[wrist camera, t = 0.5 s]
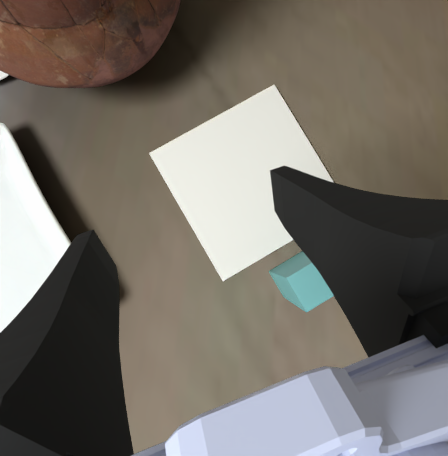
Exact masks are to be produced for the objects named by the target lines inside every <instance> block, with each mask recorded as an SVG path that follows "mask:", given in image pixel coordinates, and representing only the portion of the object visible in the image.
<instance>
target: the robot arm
mask: <svg viewBox="0 0 448 456" xmlns="http://www.w3.org/2000/svg"><path fill="white" fill-rule="evenodd" d="M270 176H271V184H272V193H273V202H274V210H275V212H276V214H277V216H278V218H279V219H280V221H281V223H282V225H283V226H284V228H285V229H286V231H287V232H288V233H289V235H290V236H291V237H292V238H293V240H294V241H295V242H296V243H297V245H298V246H299V247H300V248H301V250H302V251H303V252H304V253H305V255H306V256H307V257H308V258H309V260H310V261H311V262H312V263H313V265H314V266H315V267H316V269H317V270H318V271H319V273H320V274H321V276H322V277H323V279H324V281H325V282H326V284H327V285H328V287H329V288H330V290H331V292H332V293H333V295H334V297H335V298H336V300H337V302H338V303H339V305H340V307H341V308H342V310H343V312H344V313H345V315H346V317H347V319H348V320H349V322H350V324H351V326H352V328H353V329H354V331H355V333H356V335H357V336H358V338H359V340H360V342H361V344H362V346H363V348H364V350H365V352H366V353H367V355H368V357H369V358H366V359H364V360H361V361H359V362H356V363H354V364H352V365H349V366H347V367H344V368H338V367H327V366H324V367H320V368H316V369H313V370H309V371H306V372H303V373H300V374H298V375H295V376H293V377H290V378H288V379H286V380H283V381H281V382H278V383H276V384H273V385H271V386H268V387H266V388H264V389H261V390H259V391H256V392H254V393H251V394H249V395H246V396H244V397H241V398H239V399H237V400H234V401H232V402H229V403H227V404H224V405H222V406H219V407H217V408H215V409H212V410H210V411H207V412H205V413H202V414H200V415H198V416H196V417H195V418H193V419H191V420H189V421H187V422H185V423H184V424H182V425H180V426H179V427H178V428H177V429H176V430H175V432H174V433H173V434H172V435H171V436H170V437H169V438H168V440H167V441H165V442H162V443H160V444H158V445H155V446H153V447H150V448H148V449H146V450H143V451H141V452H138V453H136V454H134V453H133V447H132V442H131V436H130V431H129V424H128V418H127V411H126V404H125V397H124V389H123V381H122V373H121V363H120V354H119V281H118V274H117V267H116V265H115V263H114V262H113V260H112V258H111V257H110V255H109V254H108V252H107V250H106V249H105V247H104V246H103V244H102V243H101V241H100V239H99V238H98V236H97V235H96V233H95V232H94V230H90V231H87V232H84V233H81V234H78V235H77V236H76V237H75V238H74V240H73V241H72V243H71V244H70V246H69V247H68V248H67V250H66V251H65V253H64V254H63V256H62V257H61V259H60V260H59V262H58V263H57V265H56V266H55V268H54V269H53V271H52V272H51V273H50V275H49V276H48V277H47V279H46V280H45V281H44V283H43V284H42V285H41V287H40V288H39V289H38V291H37V292H36V293H35V295H34V296H33V297H32V298H31V300H30V301H29V302H28V303H27V304H26V306H25V307H24V308H23V309H22V310H21V311H20V312H19V314H18V315H17V316H16V317H15V318H14V319H13V320H12V321H11V322H10V323H9V324H8V326H7V327H6V328H4V329H3V330H2V331H1V332H0V456H448V200H435V199H419V198H407V197H399V196H391V195H384V194H378V193H373V192H368V191H363V190H359V189H354V188H350V187H347V186H343V185H340V184H336V183H333V182H330V181H327V180H324V179H321V178H318V177H315V176H313V175H310V174H307V173H304V172H302V171H299V170H296V169H293V168H290V167H287V166H281V167H278V168H275V169H272V170H270Z"/></svg>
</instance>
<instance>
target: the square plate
mask: <svg viewBox="0 0 448 456" xmlns="http://www.w3.org/2000/svg"><path fill="white" fill-rule="evenodd" d="M70 244H71V241H70V240H69V238H68V237H67V235H66V233H65V232H64V230H63V229H62V227H61V225H60V224H59V222H58V220H57V219H56V217H55V215H54V214H53V212H52V210H51V209H50V207H49V205H48V203H47V201H46V200H45V198H44V196H43V194H42V192H41V190H40V188H39V187H38V185H37V183H36V181H35V179H34V177H33V175H32V173H31V171H30V169H29V167H28V165H27V163H26V161H25V159H24V157H23V155H22V153H21V151H20V149H19V147H18V145H17V143H16V141H15V139H14V137H13V135H12V134H11V132H10V130H9V129H8V128H7V126H6V125H5V124H3V123H0V332H1V331H2V330H3V329H4V328H6V327H7V326H8V324H9V323H10V322H11V321H12V320H13V319H14V318H15V317H16V316H17V315H18V314H19V312H20V311H21V310H22V309H23V308H24V307H25V306H26V304H27V303H28V302H29V301H30V300H31V298H32V297H33V296H34V295H35V293H36V292H37V291H38V289H39V288H40V287H41V285H42V284H43V283H44V281H45V280H46V279H47V277H48V276H49V275H50V273H51V272H52V271H53V269H54V268H55V266H56V265H57V263H58V262H59V260H60V259H61V257H62V256H63V254H64V253H65V251H66V250H67V248H68V247H69V246H70Z"/></svg>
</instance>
